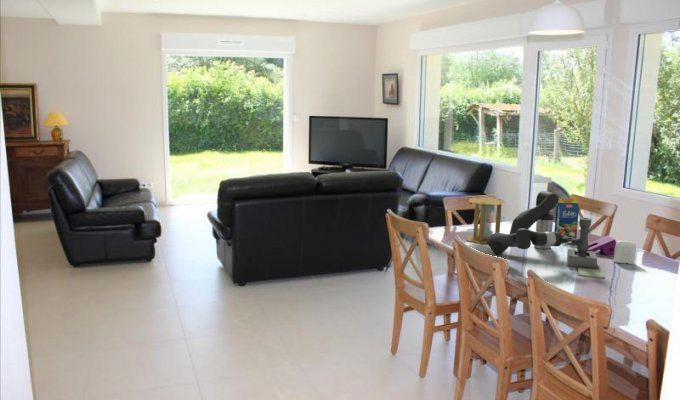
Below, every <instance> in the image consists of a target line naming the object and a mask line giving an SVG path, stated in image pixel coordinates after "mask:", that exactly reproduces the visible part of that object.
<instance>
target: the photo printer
mask: <svg viewBox="0 0 680 400" xmlns="http://www.w3.org/2000/svg"><path fill="white" fill-rule="evenodd" d="M636 251H637V244H636V242H634V241H630V240H617V241H616V245H615V253H614V255H613V262H614V263H619V264H626V263H628V265H634V264H635V260H636V258H635V257H636Z"/></svg>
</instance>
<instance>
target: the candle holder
mask: <svg viewBox="0 0 680 400" xmlns="http://www.w3.org/2000/svg"><path fill="white" fill-rule="evenodd" d="M578 225H579V227H580V228H579V229H578V231H579V233H580V234H579V238H578V239H583V243H578V245H576V250H578V254H577V255H582V256H587V254H586V253H587V251H588V250H589V244H588V243H589V239H588V238H589V233H590V232H591V230H590V227H591V225H592V218H589V217H580V218H579V220H578Z"/></svg>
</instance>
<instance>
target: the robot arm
mask: <svg viewBox="0 0 680 400" xmlns="http://www.w3.org/2000/svg"><path fill="white" fill-rule="evenodd" d="M559 199H560V197H559V196H558V194H557V193H554V192H550V191H545V190H541V191H540V192H538V193H537V196H536V199H535V206H534V207H532V208H529V209H526V210H524V211H522V212H520V213H519V214H518V215H517V216H515V218H514V219H513V220H512V223H511V226H510V231H509V233H503V232H500V233H495V232H494V233H492V235H491V236H489V237H488V238H487V241H486V242H487V244H486V245H487V246H488V247H489V249H491V251H492V252H493V253H494V254H495V255H496V256H499V255H501V254H503V253H504V252H505V251H506V250H508V248H516V249H519V250H528V249H529V248H531V245H533V247H534V248H535V249H542V250H550V249H551V248H552V247H560V246H561V245H562V244H564V245H569V246H570V245H571V246H572V245H575V246H577V245H578V243H583V239H579V238H574V239H573V238H572V236H571V235H563V234H561V233H559V232H554V231H553V227H554V214H553V213H552V212H551V211H552V210H553V209H554V208H555V207H557V205H558V203H559ZM535 223H536V224H535ZM534 224H535V231H534V230H530V228H531V227H532V226H533V225H534Z"/></svg>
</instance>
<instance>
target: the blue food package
mask: <svg viewBox="0 0 680 400" xmlns="http://www.w3.org/2000/svg"><path fill="white" fill-rule="evenodd" d="M579 214H580V207H579V199H578V198H559V201H558V203H557V205H556V209H555V218H554V219H555V221H554V230H553V232H559V233H561V234H563V235H571V236H572V238H573V239H577V236H578V235H577V234H578V225H579Z"/></svg>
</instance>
